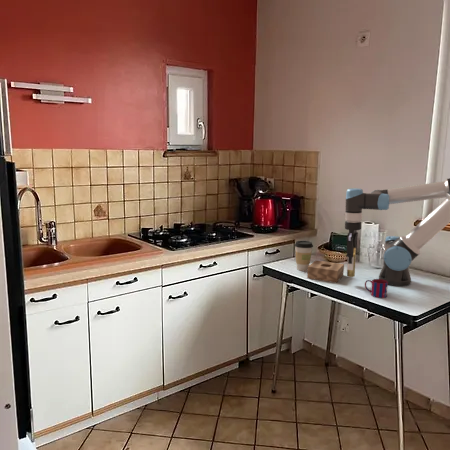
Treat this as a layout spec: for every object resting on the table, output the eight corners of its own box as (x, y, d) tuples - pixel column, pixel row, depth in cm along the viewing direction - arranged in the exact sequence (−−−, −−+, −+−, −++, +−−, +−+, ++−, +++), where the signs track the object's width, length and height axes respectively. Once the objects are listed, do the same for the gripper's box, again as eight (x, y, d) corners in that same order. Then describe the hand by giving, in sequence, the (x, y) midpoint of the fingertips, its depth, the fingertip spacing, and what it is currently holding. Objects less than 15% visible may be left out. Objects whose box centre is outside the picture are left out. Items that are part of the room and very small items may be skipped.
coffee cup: (311, 272, 242) (313, 245, 239) (293, 271, 244) (294, 243, 241) (312, 267, 251) (313, 240, 249) (294, 266, 253) (295, 239, 251)
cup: (382, 299, 203) (384, 284, 202) (361, 293, 209) (362, 279, 208) (389, 295, 208) (390, 281, 207) (368, 290, 214) (369, 276, 213)
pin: (355, 275, 222) (356, 247, 220) (353, 277, 219) (354, 248, 217) (347, 274, 224) (348, 246, 222) (346, 276, 221) (347, 248, 219)
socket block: (343, 275, 238) (344, 264, 237) (336, 282, 226) (337, 270, 224) (315, 271, 244) (315, 260, 243) (307, 278, 232) (307, 266, 231)
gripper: (349, 217, 226) (347, 263, 230) (341, 223, 211) (339, 272, 216) (364, 219, 222) (362, 265, 227) (357, 224, 208) (355, 274, 212)
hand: (351, 268), depth 221 cm, fingers closed on pin, 3 cm apart
